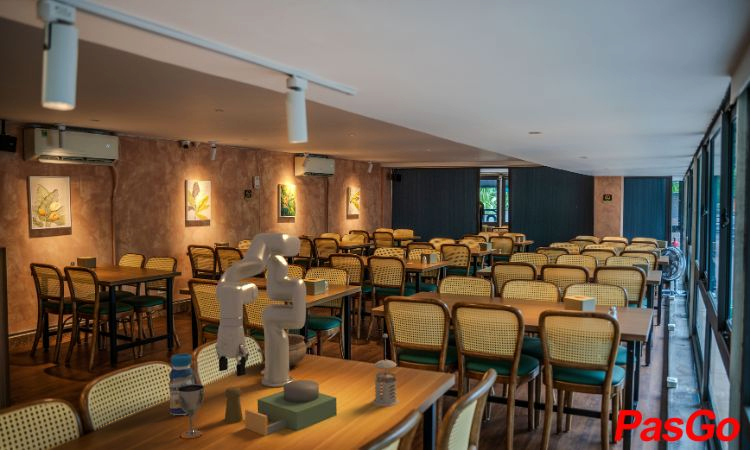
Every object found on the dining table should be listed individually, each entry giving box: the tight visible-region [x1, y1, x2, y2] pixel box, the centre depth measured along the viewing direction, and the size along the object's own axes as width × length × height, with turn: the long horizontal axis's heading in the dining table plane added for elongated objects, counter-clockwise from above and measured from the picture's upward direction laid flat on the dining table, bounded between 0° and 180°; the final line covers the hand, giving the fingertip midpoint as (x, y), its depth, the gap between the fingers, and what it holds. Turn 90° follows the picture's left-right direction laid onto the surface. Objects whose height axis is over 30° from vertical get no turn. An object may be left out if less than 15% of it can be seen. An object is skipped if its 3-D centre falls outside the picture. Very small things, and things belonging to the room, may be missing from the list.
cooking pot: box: [257, 333, 312, 368], centre depth 265 cm, size 25×19×12 cm
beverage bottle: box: [168, 353, 195, 416], centre depth 208 cm, size 8×8×20 cm
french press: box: [372, 333, 400, 407], centre depth 216 cm, size 10×12×25 cm
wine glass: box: [178, 383, 205, 436], centre depth 188 cm, size 8×8×15 cm
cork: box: [224, 386, 244, 424], centre depth 201 cm, size 6×6×11 cm
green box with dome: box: [244, 379, 338, 437], centre depth 200 cm, size 20×27×10 cm
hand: (232, 372), depth 200 cm, fingers open, 9 cm apart
